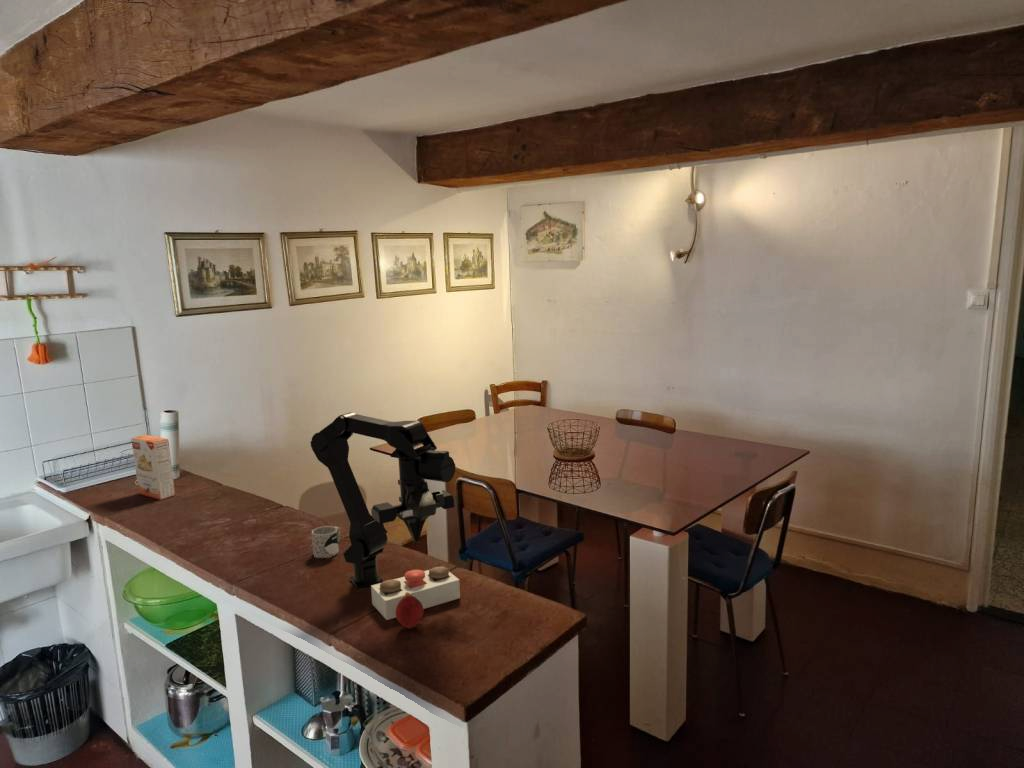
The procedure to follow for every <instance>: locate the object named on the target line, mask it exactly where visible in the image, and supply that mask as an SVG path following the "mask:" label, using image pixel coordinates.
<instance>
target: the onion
mask: <svg viewBox="0 0 1024 768" xmlns="http://www.w3.org/2000/svg"><path fill="white" fill-rule="evenodd" d="M424 610H425V609H423V606H422V604H421V602H420V601H419V600H418V599H417V598H416V597H414V596H412V595H410V594H409V593H408V592H407V593H405V597H404V598H402V599H401V600H400V602H399V603H398V605H397V607H396V613H395V614H396V617H395V618H396V619H397V621H398V622H399V623H400V624H401V625H402V626H404V627H405V628H407V629H411V630H412V628H414V627H416V626H417V625H418V624H419V623H420V622H421V621H422V618H423V616H424Z"/></svg>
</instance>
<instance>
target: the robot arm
mask: <svg viewBox="0 0 1024 768" xmlns="http://www.w3.org/2000/svg"><path fill="white" fill-rule="evenodd" d="M353 434H356V435H360V436H365V437H370V438H374V439H379V440H382V441H384V442H386V443H387V444H388V445H389V446H390V447H392V448H394V450H393V451H392V452H391V453H390V455H389V456H390V457H391V458H394V459H398V472H399V479H398V480H397V485H399V488H400V489H399V492H400V496H398V502H400V504H396V505H392V504H391V503H390V502H383V503H377V504H373V506H372V507H371V510H369V509H368V507H367V506H368V505H366V504H367V503H366V502H365V500H364V497H363V494H362V492H361V489H360V487H359V485H358V482H357V480H356V478H355V475H354V472H353V470H352V468H351V467H352V466H351V465H350V463H349V454H350V453H349V451H350V445H349V442H348V440H349V439H350V438H351V437H352V436H353ZM309 443H310V447H311V448H310V449H311V450H312V452H313V453H314V456H315V457H316V459H317V460H318V462H320V463H321V464H322V465H324V467H326V468H327V469H328V470H329V473H330V476H331V478H332V481H333V483H334V485H335V488H336V490H337V493H338V495H339V498H340V500H341V503H342V505H343V507H344V510H345V513H346V515H347V518H348V520H349V523H350V526H349V532H348V537H349V541H350V543H351V545H349V547H348V548H347V549H346V550H345V551H344V552H343V557H344V561H345V562H346V563H349V564H353V566H352V567H353V576H349V580H350V582H351V583H352V584H353V585H354V586H355V587H356V588H357V589H361V588H366V587H368V586H372V585H375V584H379V583H382V582H384V579H383V578H382V577H381V576H380V575H379V573H378V572H379V571H378V563H377V562H378V557H377V556H378V555H380V554H382V553H383V552H384V548H385V547H386V545H387V542H388V535H387V534H388V530H386V528H385V525H384V524H386V523H391V522H394V521H396V519H397V518H399V519H400V520H402V521H403V522H404V524H405V526H406V527H407V530H408V532H409V535H410V536H411V539H412V541H413V542H414V543H417V542H419V541H420V539H421V534H422V531H423V527H424V524H425V522H426V520H427V519H428V518H429V517H431V516H435V515H436V513H437V509H440V508H441V509H443V510H448V509H452V508H453V509H454V508H455V507H456V498H455V497H454V495H452V494H450V492H447V491H446V490H436V491H430V489H429V485H428V482H427V481H428V480H429V481H434V482H443V483H450V482H451V481H452V480H453V478H454V476H455V473H456V463H455V461H454V458H452V457H451V456H450V451H449V450H437V449H438V447H437V446H436V444H435V443H434V441H433V439H432V438H431V436H430V434H429V433H428V431H427V430H426V428H425V426H424V423H422V421H419V420H400V421H390V420H385V419H381V418H380V419H379V418H376V417H372V416H371V417H370V416H367V415H362V414H357V413H356V412H353V411H352V412H347V413H343V414H340V415H338V416H337V417H336V418H335V419H334V420H333V421H332V422H331V423H329V424H328V425H326V426H325V427H324V428H322V429H321V430H320V431H319V432H315V433H314V434H313V435H312V437H311V441H310V442H309ZM421 445H422V446H421ZM418 446H420V447H418ZM416 447H417V448H416ZM426 480H427V481H426ZM370 511H371V513H370Z"/></svg>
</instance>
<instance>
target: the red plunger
mask: <svg viewBox="0 0 1024 768" xmlns="http://www.w3.org/2000/svg"><path fill="white" fill-rule="evenodd" d="M424 571H425V570H422V569H412V570H408V571H406V572H405V573H404V577H405V580H407V581H409V588H414V587H417V586H421V585H422V580H423V579H424V578H425V572H424Z"/></svg>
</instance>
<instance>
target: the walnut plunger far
mask: <svg viewBox="0 0 1024 768" xmlns="http://www.w3.org/2000/svg"><path fill="white" fill-rule="evenodd" d="M428 570H429V576H430V577H432V578H433V581H439V580H442V579H446V576H448V574H449V572H450V570H449V568H448V567H445V566H443V567H441V566H433V567H432V568H430V569H428Z"/></svg>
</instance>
